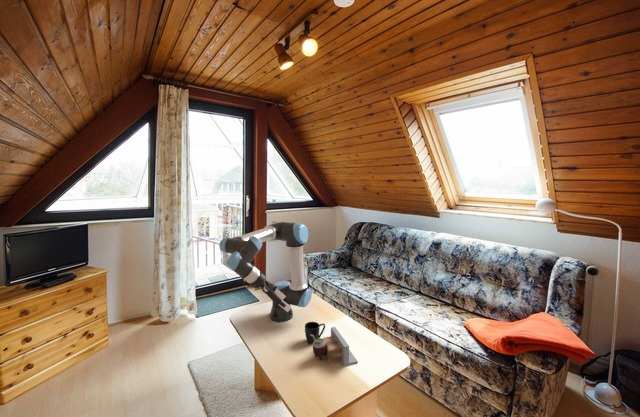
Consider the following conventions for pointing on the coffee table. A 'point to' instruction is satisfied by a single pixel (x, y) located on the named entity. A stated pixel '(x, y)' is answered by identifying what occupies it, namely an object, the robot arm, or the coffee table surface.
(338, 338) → the backstop board
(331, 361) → the tan block with ledge
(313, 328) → the mug
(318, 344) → the mate gourd
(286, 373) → the coffee table surface
